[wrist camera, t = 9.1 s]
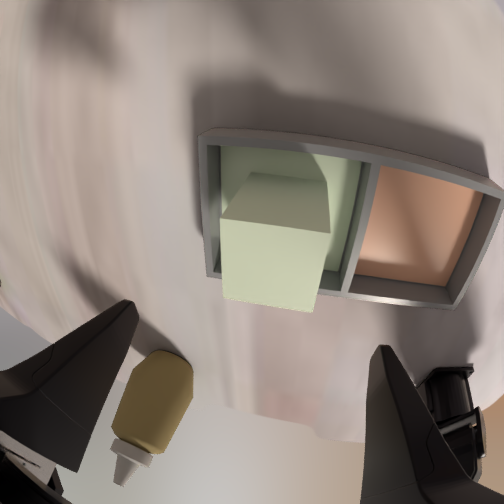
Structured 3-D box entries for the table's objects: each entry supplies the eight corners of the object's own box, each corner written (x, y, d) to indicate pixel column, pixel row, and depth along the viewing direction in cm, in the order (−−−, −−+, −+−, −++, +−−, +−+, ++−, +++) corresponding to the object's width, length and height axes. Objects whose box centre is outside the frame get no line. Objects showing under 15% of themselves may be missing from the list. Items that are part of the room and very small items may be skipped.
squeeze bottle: (140, 334, 31) (73, 461, 16) (203, 357, 30) (147, 499, 16) (148, 366, 35) (97, 471, 21) (201, 386, 35) (158, 500, 20)
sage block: (326, 181, 16) (330, 233, 11) (316, 246, 18) (312, 312, 13) (250, 172, 16) (219, 218, 11) (249, 236, 19) (223, 297, 14)
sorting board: (489, 178, 13) (508, 193, 11) (445, 288, 18) (454, 310, 16) (213, 127, 16) (197, 135, 14) (217, 255, 21) (206, 276, 19)
